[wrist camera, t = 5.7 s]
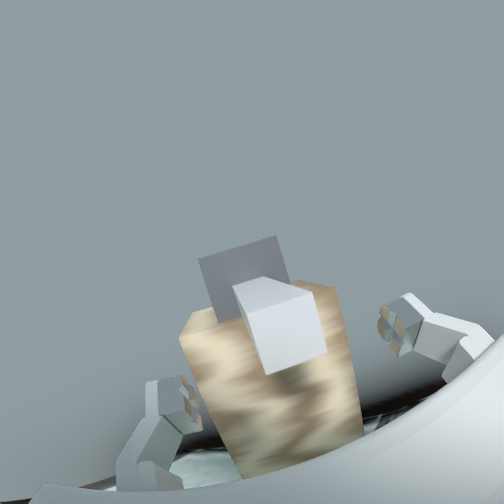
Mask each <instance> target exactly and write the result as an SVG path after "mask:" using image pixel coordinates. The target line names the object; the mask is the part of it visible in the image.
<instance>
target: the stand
mask: <svg viewBox="0 0 504 504" xmlns="http://www.w3.org/2000/svg"><path fill="white" fill-rule="evenodd" d="M290 284H291V285H292V286H295V287H298V288H301V289H304V290H308V291H311V292H312V293H313V297H314V300H315V304H316V308H317V312H318V315H319V319H320V323H321V327H322V331H323V335H324V339H325V343H326V347H327V351H328V352H327V353H325V354H323V355H320V356H318V357H315V358H313V359H310V360H307V361H305V362H302V363H299V364H297V365H294V366H291V367H289V368H286V369H283V370H280V371H277V372H274V373H271V374H268V375H266V374H265V371H264V369H263V367H262V364H261V362H260V360H259V357H258V355H257V353H256V350H255V348H254V345H253V343H252V341H251V338H250V336H249V333H248V331H247V328H246V326H245V324H244V321H243V319H242V317H239V318H236V319H232V320H229V321H226V322H223V323H219V324H218V321H217V318H216V315H215V312H214V309H213V307H211V308H207V309H204V310H201V311H197V312H194V313H192V314H191V316H190V318H189V320H188V322H187V324H186V325H185V327H184V329H183V331H182V333H181V335H180V336H179V340H180V343H181V346H182V348H183V351H184V353H185V356H186V358H187V361H188V364H189V366H190V369H191V371H192V374H193V376H194V379H195V381H196V384H197V386H198V388H199V391H200V393H201V395H202V398H203V399H204V402H205V404H206V407H207V409H208V411H209V413H210V415H211V417H212V420H213V422H214V424H215V426H216V428H217V430H218V432H219V434H220V436H221V438H222V440H223V442H224V444H225V446H226V448H227V450H228V452H229V454H230V456H231V458H232V460H233V461H234V463H235V465H236V467H237V469H238V471H239V472H240V474H241V476H242V478H243V479H248V478H252V477H256V476H260V475H264V474H267V473H271V472H274V471H278V470H281V469H284V468H287V467H290V466H293V465H296V464H299V463H302V462H305V461H308V460H310V459H313V458H316V457H318V456H321V455H323V454H326V453H328V452H331V451H333V450H335V449H338V448H340V447H342V446H344V445H347V444H349V443H351V442H353V441H355V440H357V439H359V438H361V437H363V436H364V429H363V422H362V416H361V409H360V403H359V397H358V392H357V385H356V380H355V375H354V370H353V365H352V360H351V354H350V350H349V345H348V341H347V336H346V331H345V327H344V322H343V318H342V314H341V310H340V306H339V302H338V298H337V294H336V290H335V288H334V287H329V286H324V285H320V284H315V283H310V282H306V281H302V280H296V281H294V282H290Z"/></svg>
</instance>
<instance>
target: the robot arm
mask: <svg viewBox="0 0 504 504" xmlns="http://www.w3.org/2000/svg"><path fill="white" fill-rule="evenodd" d="M380 314H381V317H380V318H379V320H378V330H379V333H380V335H381V337H382V338H383V339H384V340H385V341H388V342H390V348H391V349H392V350H393V352H394V353H395V354H396V355H397V357H399V356H401V355H403V354H405V353H407V352H409V351H410V350H412V349H413V350H414V351H416V352H418V353H421V354H423V355H425V356H427V357H429V358H431V359H434V360H436V361H438V362H440V363H443V364H444V365H447V366H446V368H445V370H444V372H443V374H442V377H443V378H444V380H445V381H446V382H447V383H448V384H447V385H445V386H444V387H443V388H441V389H440V390H439V391H437V392H436V393H434V394H433V395H432V396H430V397H429V398H427V399H426V400H424V401H423V402H422V403H420V404H419V405H417V406H416V407H414V408H412V409H411V410H409V411H408V412H406V413H405V414H403V415H401V416H400V417H398V418H396V419H395V420H393V421H391V422H389V423H388V424H386V425H384V426H382V427H381V428H379V429H377V430H375V431H373V432H371V433H369V434H367V435H365V436H363V437H361V438H359V439H357V440H355V441H353V442H351V443H349V444H347V445H344V446H342V447H340V448H338V449H335V450H333V451H331V452H328V453H326V454H323V455H321V456H318V457H316V458H313V459H310V460H308V461H305V462H302V463H299V464H296V465H293V466H290V467H287V468H284V469H281V470H278V471H274V472H271V473H267V474H264V475H260V476H256V477H252V478H248V479H243V480H239V481H234V482H229V483H224V484H218V485H212V486H206V487H198V488H190V489H184V488H183V483H182V479H181V478H180V477H178V476H176V475H174V474H172V473H171V472H169V469H170V467H171V464H172V462H173V459H174V457H175V455H176V452H177V450H178V447H179V445H180V442H181V440H182V438H183V435H184V434H189V433H193V432H198V431H202V430H203V427H202V422H201V416H200V415H199V414H198V412H197V410H198V408H199V403H198V399H197V396H196V393H195V391H194V389H193V387H192V386H191V385H188V381H187V378H186V377H185V376H184V375H181V376H176V377H171V378H166V379H161V380H156V381H150V382H147V383H146V387H145V417H146V418H142V420H141V421H140V423H139V424H138V426H137V428H136V429H135V431H134V433H133V434H132V436H131V438H130V439H129V441H128V442H127V444H126V445H125V447H124V449H123V451H122V452H121V454H120V455H119V457H118V458H117V460H116V489H117V491H104V490H92V489H83V488H75V487H68V486H63V485H57V484H51V483H46V484H44V485H43V486H42V487H41V488H40V489H39V490H38V491H37V493H36V494H35V495H34V497H33V498H32V499H31V501H30V502H29V504H504V333H503V334H502V335H501V337H499V338H498V340H497V341H495V340H493V339H492V337H491V336H489V334H488V333H487V332H486V331H484V329H482V328H481V327H480V326H479V325H478V324H475V323H471V322H468V321H464V320H461V319H457V318H454V317H450V316H447V315H443V314H440V313H436V312H435V313H434V314H433V313H432V312H431V311H430V310H429V309H428V308H427V307H426V306H425V305H424V304H423V303H422V302H421V301H420V300H419V299H417V298H416V297H415V296H414V295H413V294H412V293H407V294H405V295H403V296H401V297H399V298H397V299H395V300H393V301H391V302H389V303H387V304H385V305H382V306H381V308H380ZM0 504H1V503H0Z"/></svg>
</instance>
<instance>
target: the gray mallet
mask: <svg viewBox="0 0 504 504" xmlns="http://www.w3.org/2000/svg"><path fill="white" fill-rule="evenodd" d="M198 260H199V264H200V267H201V270H202V274H203V277H204V280H205V284H206V286H207V290H208V293H209V296H210V299H211V302H212V306H213V309H214V312H215V315H216V318H217V321H218V324H219V323H223V322H226V321H229V320H232V319H236V318H239V317H242V319H243V321H244V324H245V326H246V328H247V331H248V333H249V336H250V338H251V341H252V343H253V345H254V348H255V350H256V353H257V355H258V357H259V360H260V362H261V364H262V367H263V369H264V371H265V374H266V375H268V374H271V373H274V372H277V371H280V370H283V369H286V368H289V367H291V366H294V365H297V364H299V363H302V362H305V361H307V360H310V359H313V358H315V357H318V356H320V355H323V354H325V353H327V352H328V351H327V347H326V343H325V339H324V335H323V331H322V327H321V323H320V319H319V315H318V312H317V308H316V304H315V300H314V297H313V293H312V292H311V291H308V290H304V289H301V288H298V287H295V286H292V285H291V284H290V281H289V277H288V274H287V271H286V267H285V264H284V260H283V257H282V253H281V250H280V247H279V243H278V240H277V237H276V236H273V237H269V238H266V239H263V240H259V241H256V242H253V243H249V244H246V245H243V246H239V247H236V248H233V249H229V250H226V251H223V252H219V253H216V254H213V255H209V256H206V257H203V258H199V259H198Z"/></svg>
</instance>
